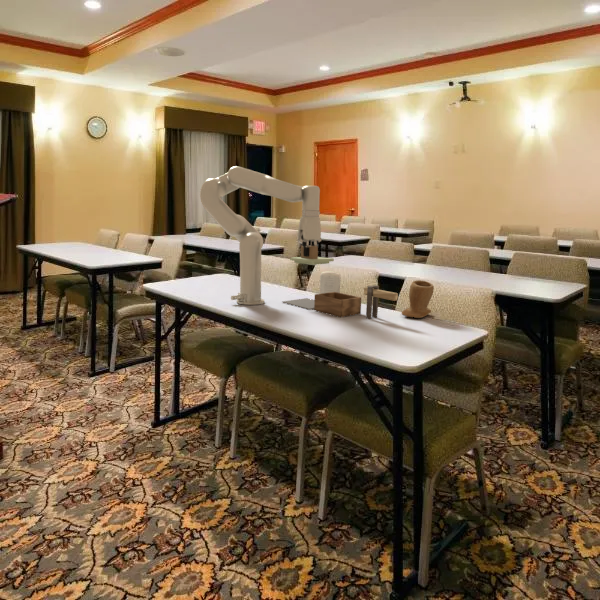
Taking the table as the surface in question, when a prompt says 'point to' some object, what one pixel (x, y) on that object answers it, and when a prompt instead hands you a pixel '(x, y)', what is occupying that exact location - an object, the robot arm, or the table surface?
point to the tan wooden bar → (383, 294)
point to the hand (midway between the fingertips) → (309, 255)
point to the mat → (302, 303)
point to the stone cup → (419, 299)
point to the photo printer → (329, 282)
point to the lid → (311, 257)
